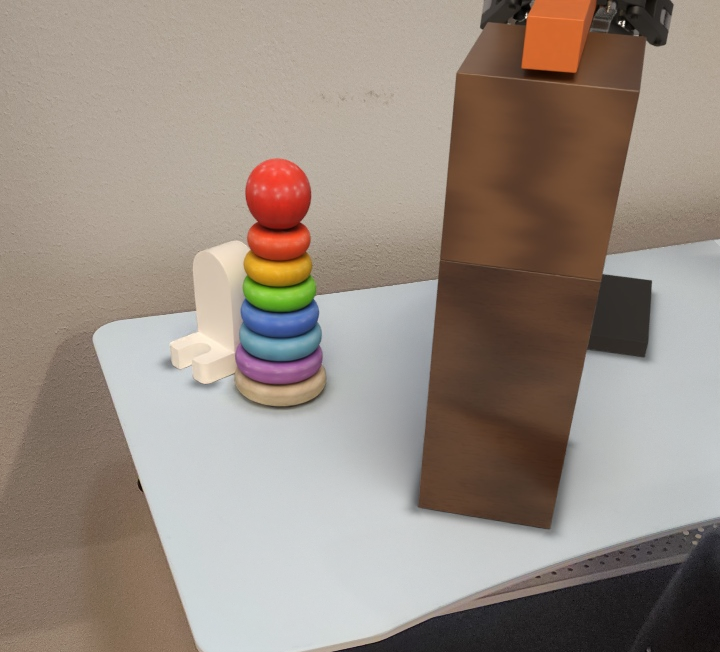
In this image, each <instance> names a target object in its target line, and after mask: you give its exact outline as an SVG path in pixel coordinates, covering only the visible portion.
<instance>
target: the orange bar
mask: <svg viewBox="0 0 720 652" xmlns="http://www.w3.org/2000/svg"><path fill="white" fill-rule="evenodd" d="M596 2H597V0H535V2H534V4H533V6H532V8H531V10H530V12H529V14H528V16H527V23H526V31H525V40H524V48H523V57H522V65H521V68H522V69H534V70H546V71H557V72H569V73H576V72H577V69H578V66H579V62H580V59H581V56H582V52H583V49H584V45H585V42H586V39H587V35H588V32H589V28H590V25H591V22H592V18H593V15H594V11H595V8H596V5H597V4H596Z"/></svg>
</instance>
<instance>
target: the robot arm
mask: <svg viewBox="0 0 720 652" xmlns="http://www.w3.org/2000/svg"><path fill="white" fill-rule="evenodd" d="M534 2H535V0H483V4H482V10H481V17H480V23H479V29H481V31H483V29H484V27H485V26H486V24H487V23H488V22H492V23H503V24H513V25H524V26H526V23H527V16H528V14H529V12H530V10H531V8H532V6H533V4H534ZM596 4H597V5H596V8H595V11H594V15H593V18H592V22H591V25H590V28H589V32H599V33H610V34H620V35H631V36H642V37H646V38H647V39H646V43H648V44H649V45H650V46H653V47H663V46H666V45H667V42H668V36H669V32H670V27H671V22H672V18H673V17H672V16H673V11H674V6H675V4H674V3H673V1H672V0H597V2H596Z"/></svg>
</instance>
